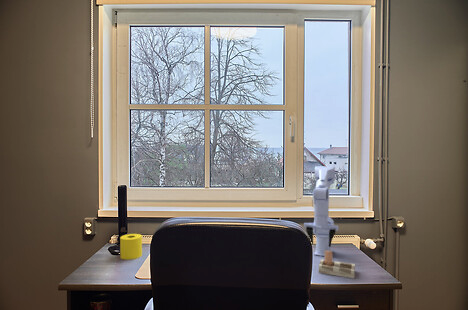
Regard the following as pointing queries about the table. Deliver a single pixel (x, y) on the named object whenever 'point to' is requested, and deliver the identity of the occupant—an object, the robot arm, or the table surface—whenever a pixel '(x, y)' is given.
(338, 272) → the bore block
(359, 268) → the table surface
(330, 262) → the dowel
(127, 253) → the tape roll
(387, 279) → the table surface
